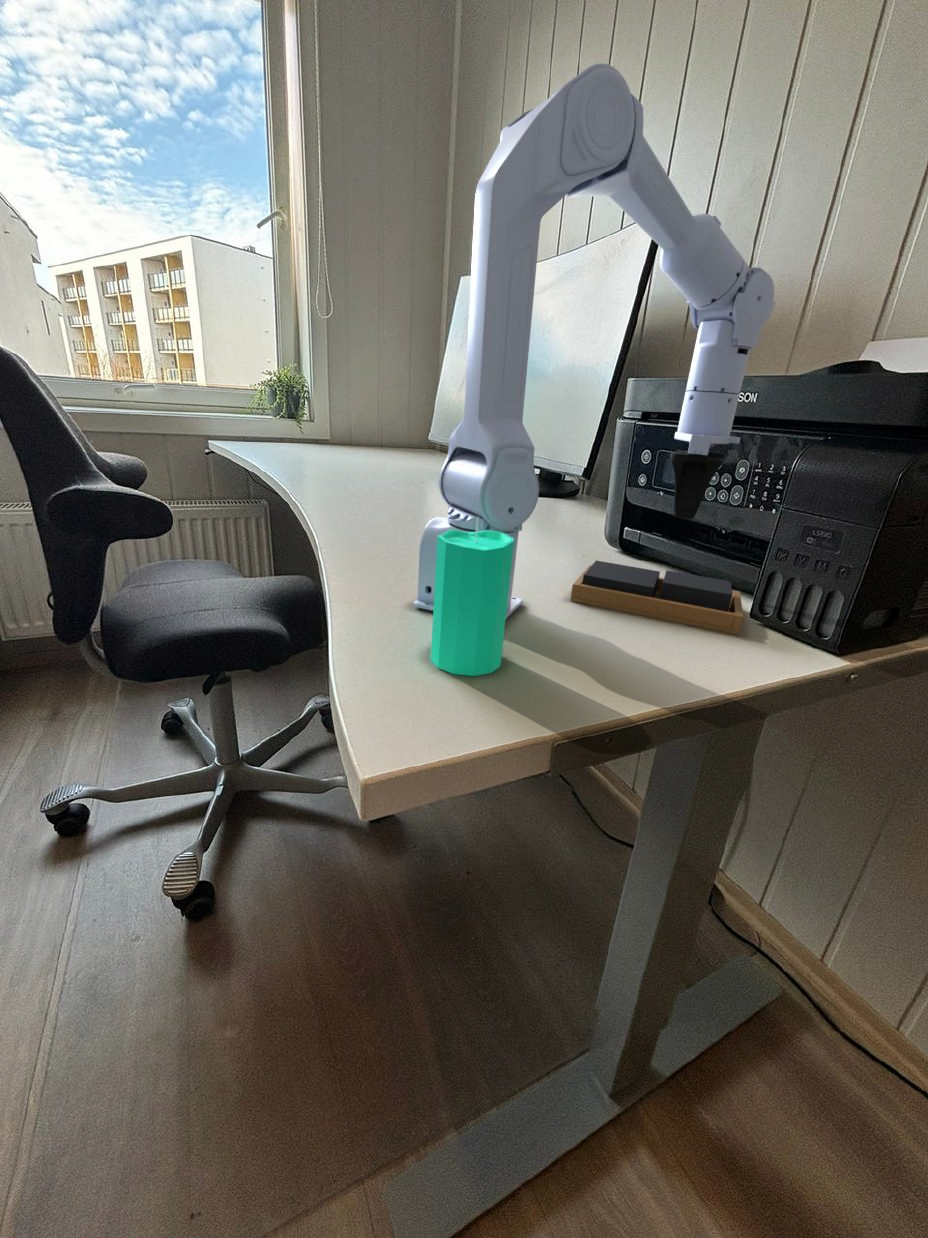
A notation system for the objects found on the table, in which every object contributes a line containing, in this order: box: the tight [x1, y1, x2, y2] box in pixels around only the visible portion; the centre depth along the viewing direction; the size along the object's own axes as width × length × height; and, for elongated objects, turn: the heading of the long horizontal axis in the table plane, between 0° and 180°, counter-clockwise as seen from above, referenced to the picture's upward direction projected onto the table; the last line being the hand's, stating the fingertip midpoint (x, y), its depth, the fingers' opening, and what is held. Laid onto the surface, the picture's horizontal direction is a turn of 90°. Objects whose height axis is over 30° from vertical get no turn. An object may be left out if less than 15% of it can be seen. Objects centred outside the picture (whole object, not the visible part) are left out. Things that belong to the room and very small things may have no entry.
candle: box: [430, 517, 514, 677], centre depth 44 cm, size 6×6×12 cm
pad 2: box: [659, 569, 733, 612], centre depth 61 cm, size 7×6×3 cm
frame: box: [569, 564, 745, 636], centre depth 63 cm, size 18×10×2 cm, turn 66°
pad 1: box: [582, 559, 661, 598], centre depth 64 cm, size 8×7×2 cm
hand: (685, 512), depth 67 cm, fingers open, 7 cm apart
